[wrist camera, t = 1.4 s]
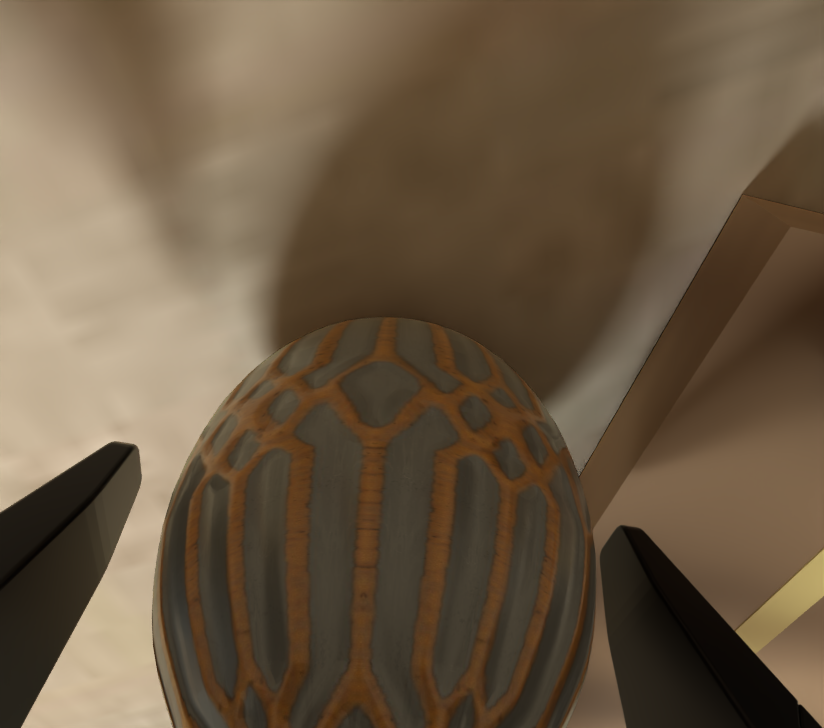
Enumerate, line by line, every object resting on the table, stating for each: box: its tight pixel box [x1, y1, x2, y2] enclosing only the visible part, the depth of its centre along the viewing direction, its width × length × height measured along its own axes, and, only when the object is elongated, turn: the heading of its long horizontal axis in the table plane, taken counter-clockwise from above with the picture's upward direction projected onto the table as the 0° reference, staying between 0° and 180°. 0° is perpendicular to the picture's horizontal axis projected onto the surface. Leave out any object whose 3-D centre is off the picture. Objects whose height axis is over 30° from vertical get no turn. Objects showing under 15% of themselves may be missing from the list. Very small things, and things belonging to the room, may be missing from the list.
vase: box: [152, 317, 596, 728], centre depth 9 cm, size 7×7×9 cm
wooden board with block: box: [566, 195, 824, 728], centre depth 13 cm, size 20×12×6 cm, turn 168°
